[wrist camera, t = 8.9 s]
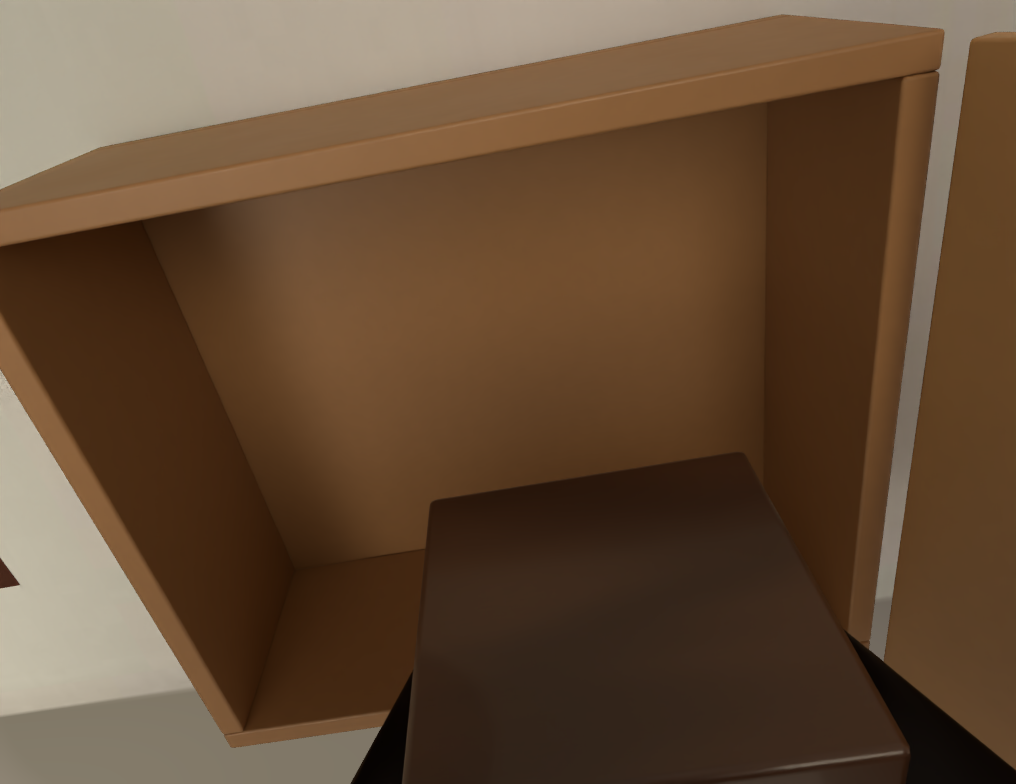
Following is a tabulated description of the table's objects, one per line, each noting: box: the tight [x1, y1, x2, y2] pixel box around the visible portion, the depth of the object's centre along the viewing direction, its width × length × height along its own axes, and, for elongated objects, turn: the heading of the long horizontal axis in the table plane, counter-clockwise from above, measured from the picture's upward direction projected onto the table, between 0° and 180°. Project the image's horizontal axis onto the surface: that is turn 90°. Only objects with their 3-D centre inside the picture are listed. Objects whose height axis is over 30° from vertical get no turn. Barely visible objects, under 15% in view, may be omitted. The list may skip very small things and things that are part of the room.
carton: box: [0, 15, 944, 748], centre depth 15 cm, size 14×12×6 cm
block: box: [402, 452, 911, 784], centre depth 8 cm, size 4×4×4 cm
